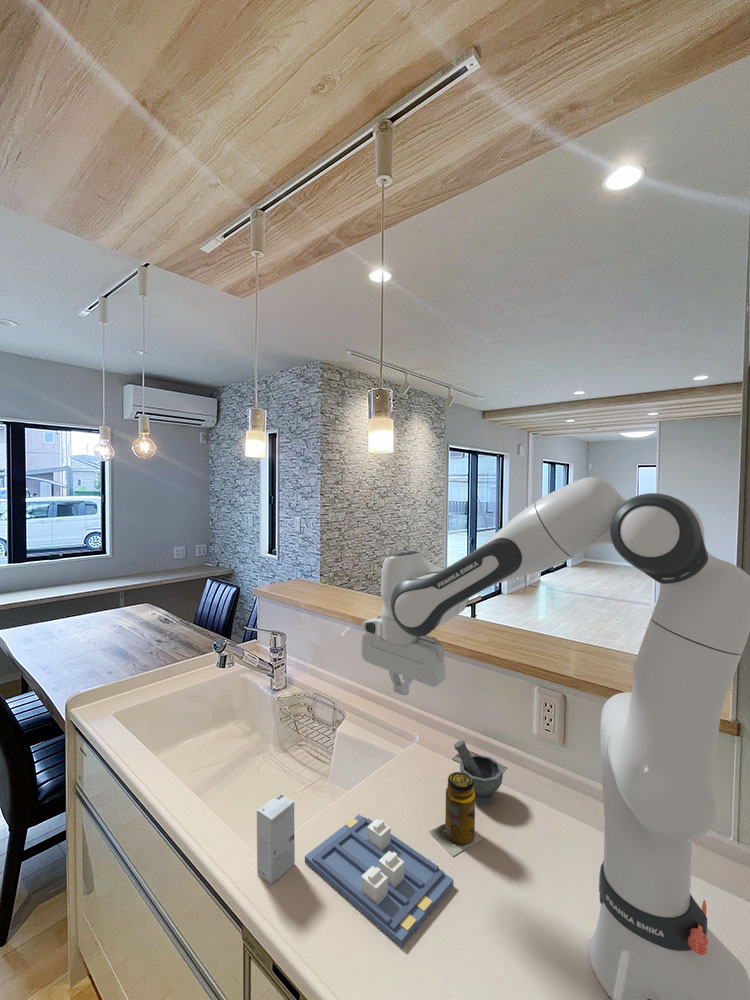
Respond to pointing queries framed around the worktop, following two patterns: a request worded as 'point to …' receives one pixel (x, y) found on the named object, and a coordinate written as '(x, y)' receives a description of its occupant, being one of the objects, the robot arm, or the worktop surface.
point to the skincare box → (275, 838)
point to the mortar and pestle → (480, 773)
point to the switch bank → (406, 902)
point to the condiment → (458, 815)
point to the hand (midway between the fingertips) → (401, 693)
